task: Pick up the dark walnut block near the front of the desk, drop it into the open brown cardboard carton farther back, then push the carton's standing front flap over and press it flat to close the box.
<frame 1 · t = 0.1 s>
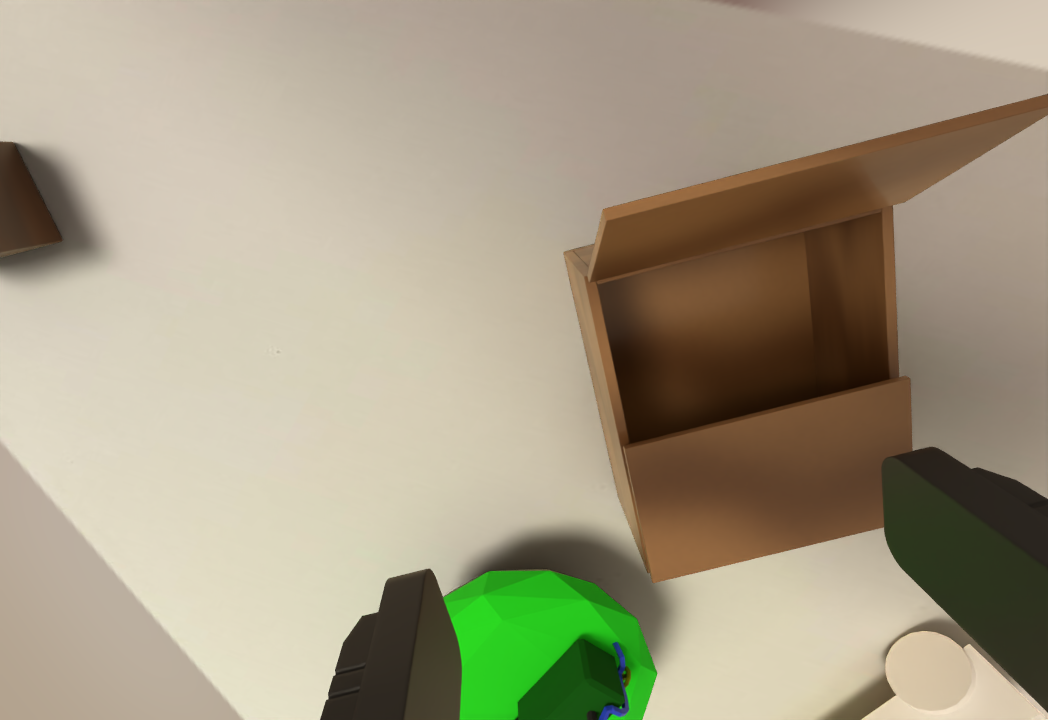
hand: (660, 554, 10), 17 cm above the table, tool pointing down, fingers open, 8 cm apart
green domed toy: (518, 610, 32), on the table
flap: (781, 204, 16), point 9 cm above the table, hinge at 115.0°
carton: (703, 355, 28), on the table
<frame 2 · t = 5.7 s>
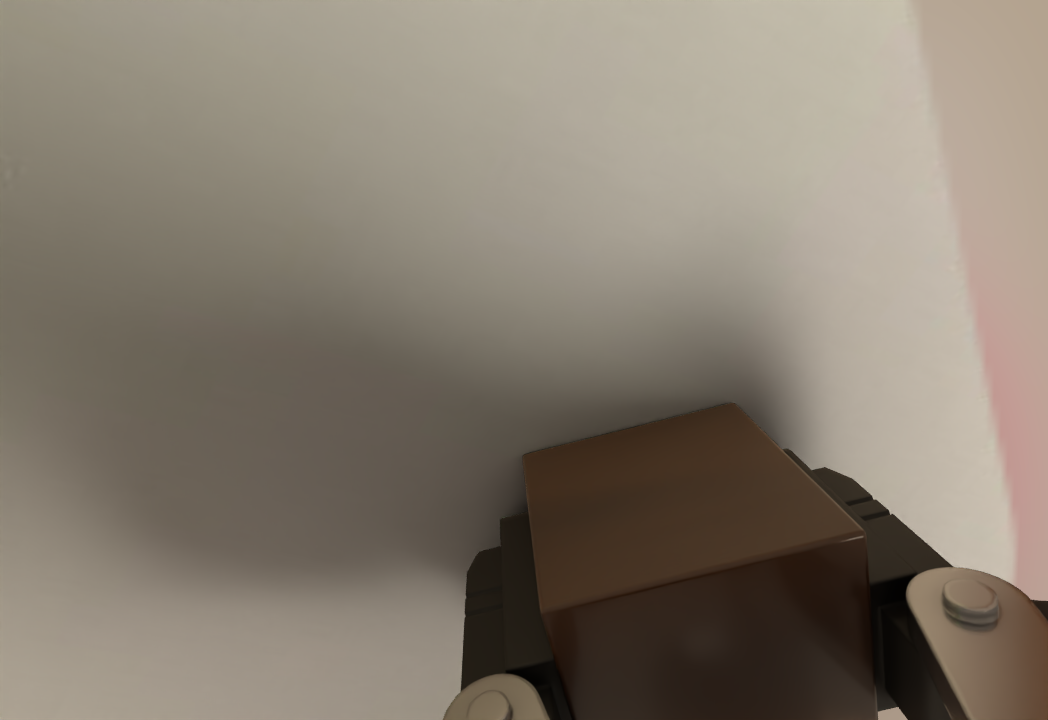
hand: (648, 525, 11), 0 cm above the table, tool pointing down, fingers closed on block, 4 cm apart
block: (646, 517, 11), on the table, touching gripper
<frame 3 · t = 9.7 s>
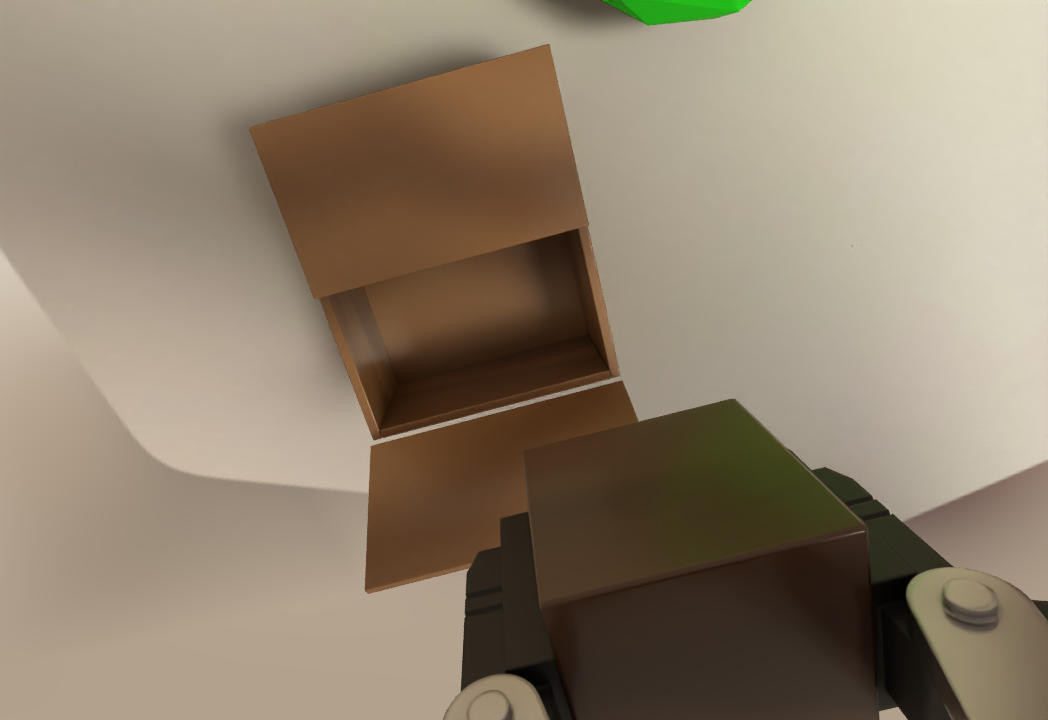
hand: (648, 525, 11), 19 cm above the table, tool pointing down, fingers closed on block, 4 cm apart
flap: (506, 477, 22), point 9 cm above the table, hinge at 115.0°
block: (646, 514, 11), point 19 cm above the table, touching gripper
carton: (459, 242, 28), on the table
when the fingers open (5 cm above the table, at t = 13.7 s): block drops 5 cm, resting on carton.
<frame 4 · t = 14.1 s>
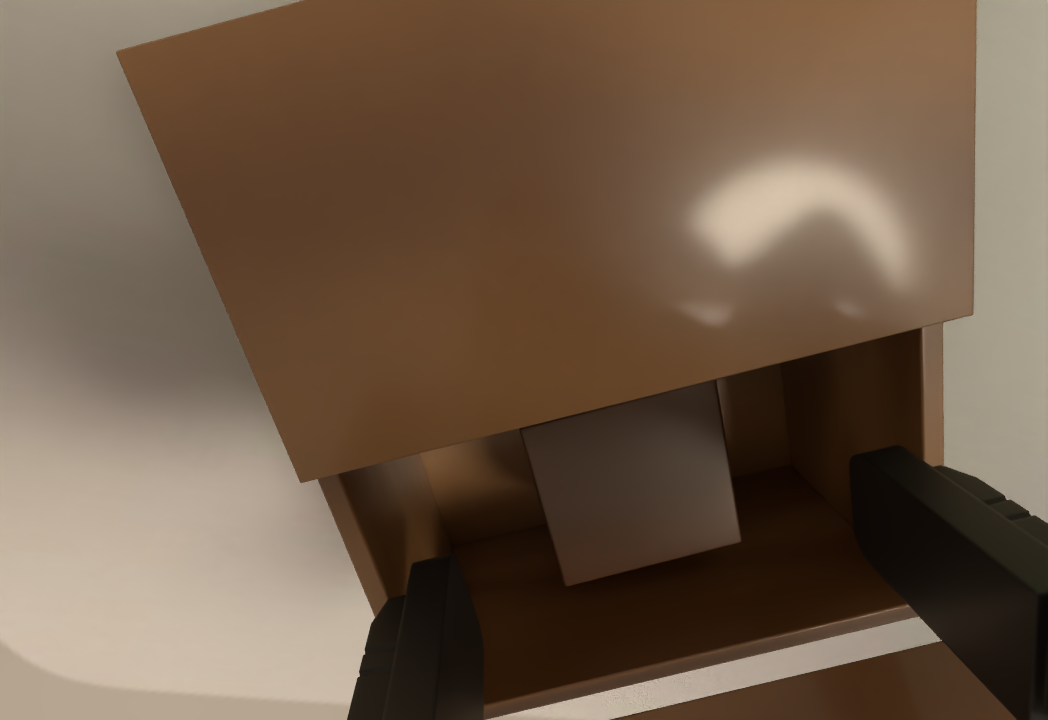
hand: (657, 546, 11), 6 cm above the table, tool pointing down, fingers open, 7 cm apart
block: (601, 410, 16), resting on carton
carton: (574, 305, 15), on the table
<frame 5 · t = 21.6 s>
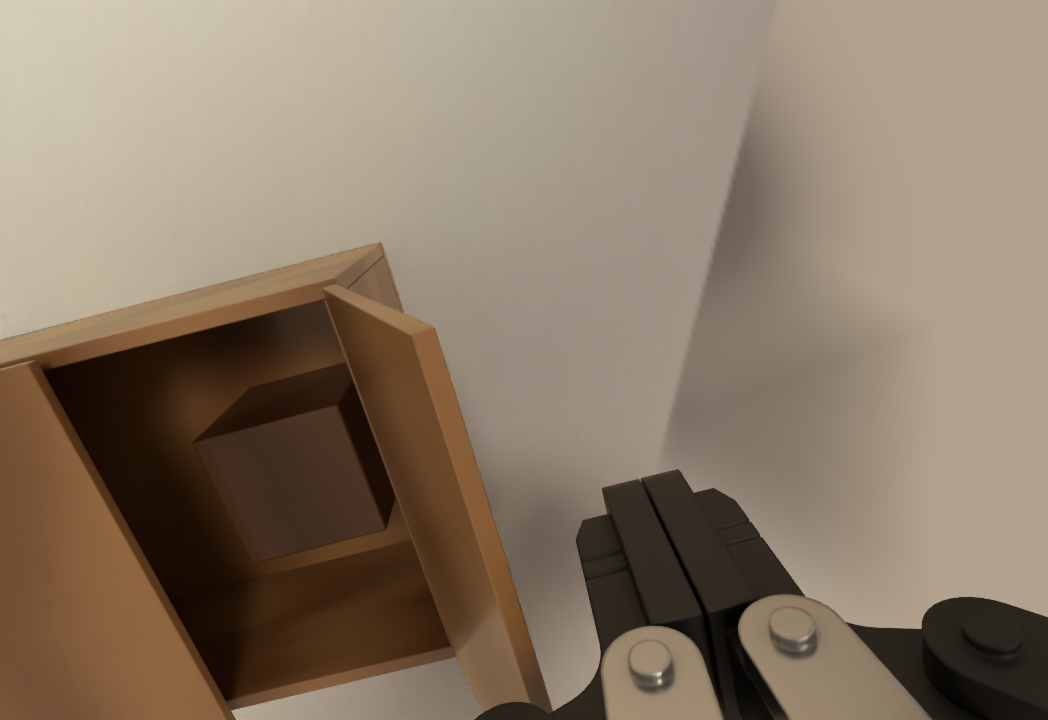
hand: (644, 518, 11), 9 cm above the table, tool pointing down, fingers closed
flap: (454, 569, 11), point 9 cm above the table, hinge at 115.0°, touching gripper
block: (330, 425, 20), resting on carton
carton: (251, 442, 20), on the table
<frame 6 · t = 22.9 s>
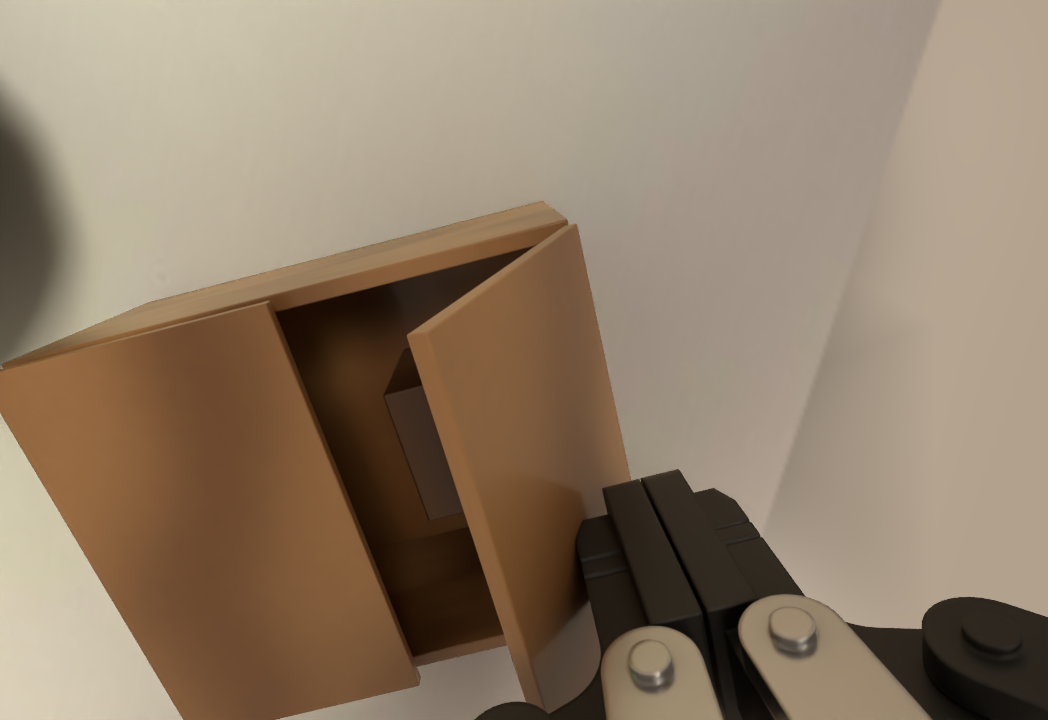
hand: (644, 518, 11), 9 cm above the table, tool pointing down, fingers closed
flap: (584, 538, 11), point 9 cm above the table, hinge at 65.7°, touching gripper
block: (479, 388, 20), resting on carton
carton: (397, 406, 20), on the table
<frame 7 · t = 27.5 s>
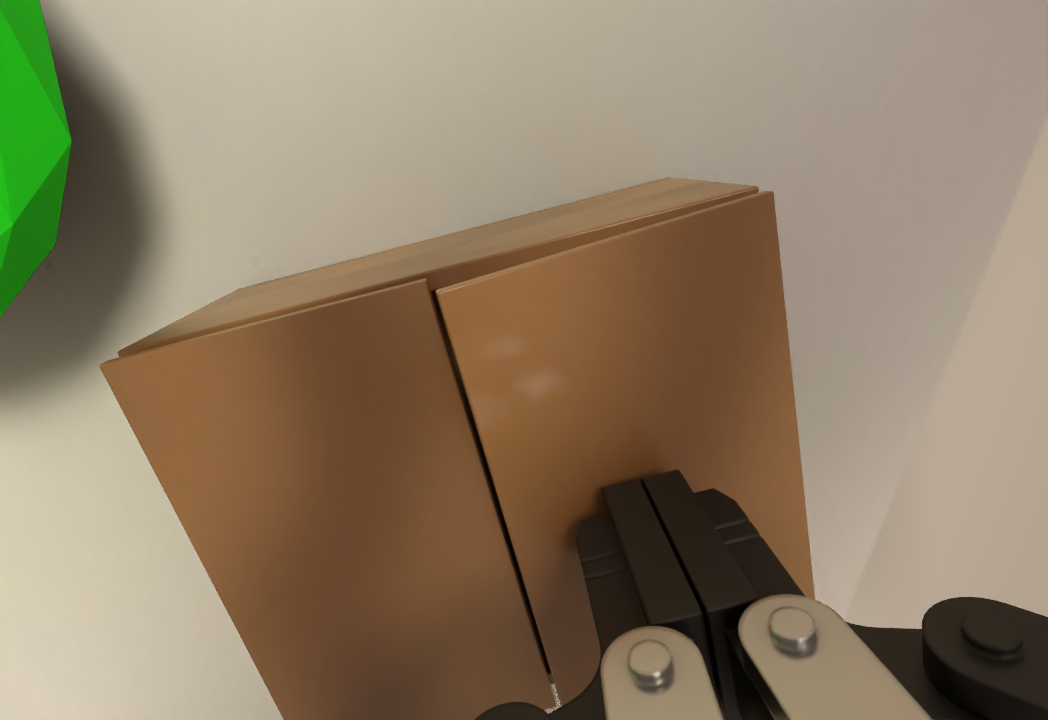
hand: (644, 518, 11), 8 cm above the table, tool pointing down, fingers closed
flap: (663, 500, 12), point 7 cm above the table, hinge at 12.9°
carton: (499, 401, 19), on the table
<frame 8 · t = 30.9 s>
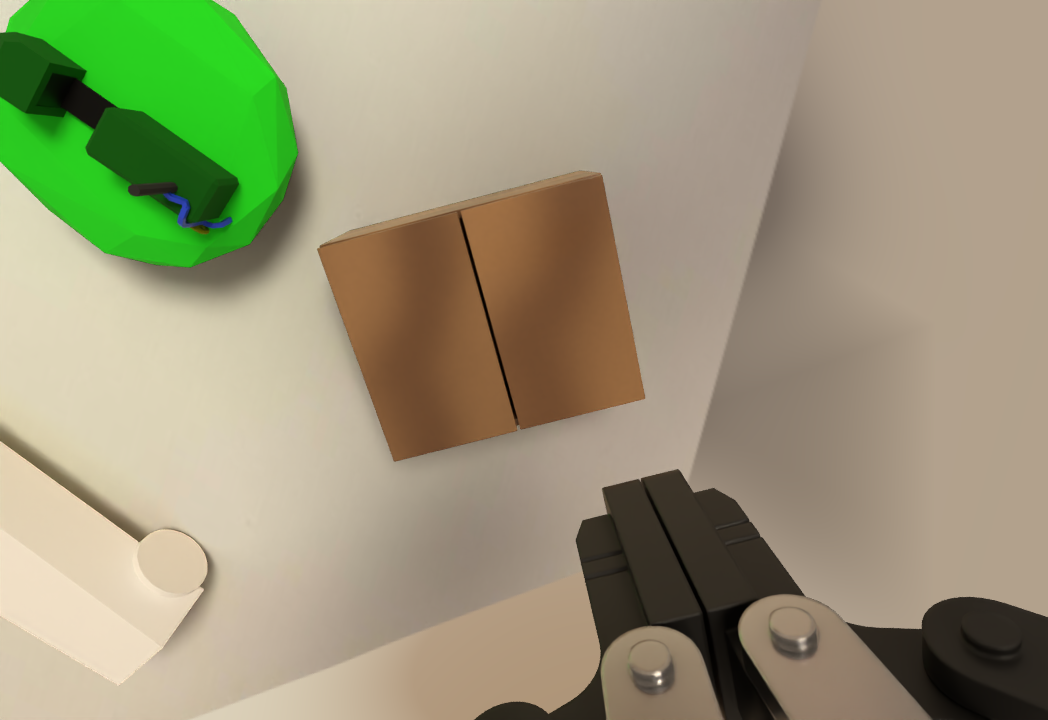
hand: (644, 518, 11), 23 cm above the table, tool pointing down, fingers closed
green domed toy: (199, 129, 30), on the table
flap: (558, 310, 27), point 6 cm above the table, hinge at -0.4°
carton: (490, 296, 33), on the table
toy truck: (22, 467, 35), on the table
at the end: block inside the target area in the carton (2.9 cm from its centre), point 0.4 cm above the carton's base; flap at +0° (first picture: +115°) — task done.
